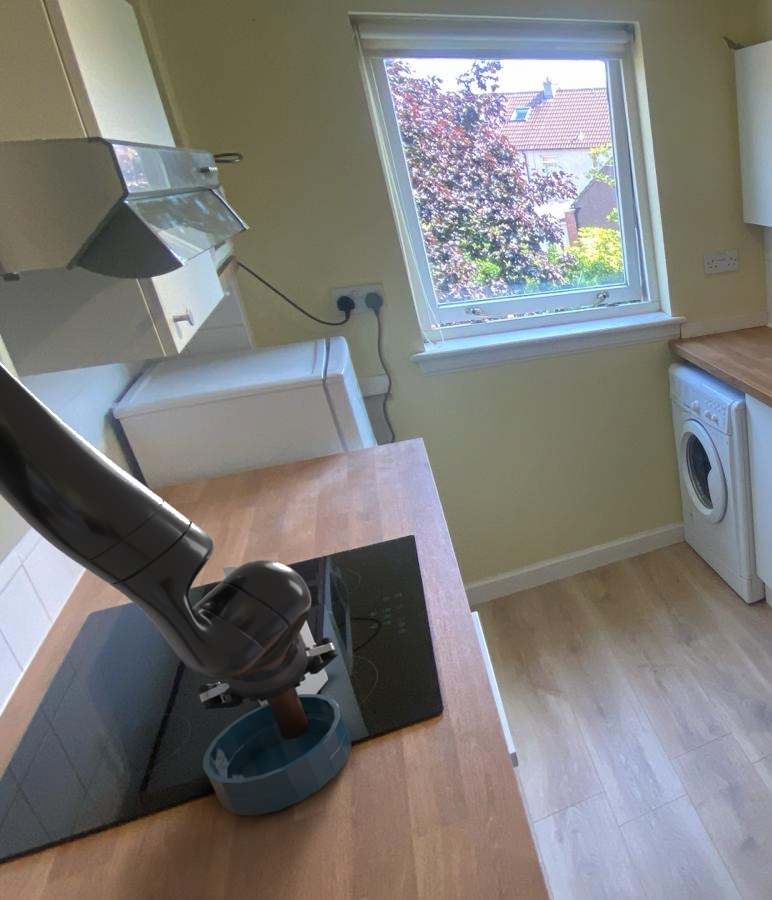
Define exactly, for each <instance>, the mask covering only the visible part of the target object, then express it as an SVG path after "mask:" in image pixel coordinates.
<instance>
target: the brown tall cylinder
mask: <svg viewBox="0 0 772 900" xmlns="http://www.w3.org/2000/svg"><path fill="white" fill-rule="evenodd" d="M267 702H268V704H269V707H270V709H271V712H272V714H273V716H274V719H275V721H276V724H277V726H278V729H279V731H280V733H281V736H282V738H284V739H287V740H290V739H294V738H297V737H299V736H301V735H303V734H304V733H305V732H306V731H307V730H308V728H309V723H308V720H307V718H306V715H305V713H304V710H303V707H302V705H301V702H300V700H299V697H298V695H297V692H296V689H295V687H294V686H293V687H292V688H291V689H290V690H288V691H287V692H285V693H283V694H281V695H279V696H276V697H273V698H269V699H267Z"/></svg>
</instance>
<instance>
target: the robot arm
mask: <svg viewBox="0 0 772 900" xmlns="http://www.w3.org/2000/svg"><path fill="white" fill-rule="evenodd" d="M0 496H1V497H2V498H3V499H4V500H5V501H6V502H7V503H8V505H10V507H12V509H13V510H14V511H15V512H16V513H17V514H18V515H19V516H20V517H21V518H22V519H23V520H24V521H25V522H26V523H27V524H28V525H29V526H30V527H31V528H32V529H33V530H34V531H35V532H37V533H38V534H39V535H40V536H41V537H42V538H44V539H45V540H46V541H47V542H48V543H50V545H52V546H53V547H54V548H56V549H57V550H58V551H60V552H61V553H63V554H64V555H65V556H67V557H68V558H69V559H71V560H72V561H73V562H76V563H77V564H78V565H80V566H81V567H83V568H84V569H86V570H87V571H89V572H90V573H92V574H93V575H94V576H96V577H98V578H99V579H101V581H103V582H105V583H106V584H109V586H111V587H113V588H114V589H115V590H117V591H118V592H120V593H121V594H122V595H124V596H125V597H126V598H127V599H129V600H130V601H131V602H132V603H133V604H134V605H135V606H137V607H138V608H139V610H141V611H142V612H143V613H144V614H145V616H146V617H147V618H148V620H150V621H151V622H152V624H153V625H154V626H155V628H156V629H157V630H158V631H159V633H160V634H161V635H162V637H163V638H164V639H165V641H166V642H167V644H168V645H169V646H170V648H171V649H172V650H173V652H174V653H175V655H176V656H177V657H178V658H179V660H181V661H182V663H183V664H184V665H185V666H186V667H188V668H189V669H190V670H191V671H193V672H194V673H196V674H198V675H199V676H200V675H201V676H202V677H206V678H209V679H213V680H222V683H221V682H220V681H218V682H215V683H208V684H203V685H201V686H199V687H198V688H196V690H197V692H198V697H199V699H200V701H201V704H202V706H203V709H204V710H214V709H215V710H216V709H227V708H228V709H229V708H234V707H235V708H237V707H238V706H241V705H242V704H243V703H244V700H245V699H248V700H249V701H250V702H256V701H259V700H260V702H263V701H265V700H267V699H269V698H273V697H276V696H279V695H281V694H283V693H285V692H287V691H288V690H290V689H291V688H292V687H293V686H294V687H295V688H296V687H298V686H301V685H300V682H302V681H304V680H305V679H306V678H305V674H307V673H309V672H310V674H317V673H319V671H321V670H322V669H323V668H324V669H325V668H326V667H327V666H328V665H329V664H330V663H331V662H332V661H334V660H335V659H336V658H337V657H338V656H339V654H338V652H337V649H336V646H335V644H334V641H333V639H332V636H328V637H327V636H325V637H323V638H322V639H321V640H319V641H318V642H317V643H315V644H314V645H313V648H312V649H310V647H308V646H306V644H305V642H304V641H303V638H302V636H301V634H300V631H301V629H302V627H303V625H304V623H305V621H307V619H308V617H309V615H310V612H311V610H312V609H311V608H312V595H311V591H310V589H309V586H308V585H307V583H306V581H305V580H304V579H303V577H302V576H301V575H300V574H299V573H298V572H297V571H295V570H294V569H293V568H291V567H289V566H288V565H286V564H284V563H281V562H279V561H273V560H269V559H259V560H253V561H248V562H246V563H243V564H241V565H239V566H240V567H238V568H237V569H235V570H234V571H233V572H231V573H230V574H229V575H228V576H227V577H226V576H225V577H226V578H225V577H224V578H223V579H222V580H221V581H220V582H219V583H218V584H217V585H216V586H215V587H214V588H213V589H212V590H210V591H209V592H208V593H207V594H206V595H205V596H203V598H201V599H200V601H198V602H197V603H196V604H195V605H194V606H193V605H192V601H191V597H190V591H191V588H192V585H193V584H194V582H195V580H196V578H197V577H198V575H199V574H200V573H201V571H202V570H203V569H204V568H205V565H206V564H207V562H209V560H210V559H211V556H212V555H213V553H214V550H215V543H214V540H213V539H212V537H211V536H210V535H209V534H208V533H207V531H204V530H203V528H201V527H200V526H199V525H197V524H196V523H194V522H193V521H192V520H190V519H189V518H188V517H187V516H185V515H184V514H183V513H181V512H180V511H178V509H176V508H175V507H174V506H172V505H171V504H169V503H168V502H167V501H165V500H164V499H163V498H162V497H161V496H159V494H156V492H154V491H152V490H151V489H150V488H149V487H147V486H146V485H145V484H144V483H142V482H141V481H140V480H138V479H137V478H135V477H134V476H133V475H131V474H130V473H129V472H127V471H126V469H124V468H122V467H121V466H120V465H118V464H117V463H116V462H115V461H113V460H112V459H110V458H109V457H108V456H107V455H105V454H104V453H103V452H101V451H100V450H99V449H98V448H97V447H95V446H94V445H92V444H91V442H89V441H88V440H87V439H85V438H84V437H83V436H82V435H80V434H79V433H78V432H77V431H76V430H74V429H73V428H72V427H71V426H70V425H69V424H67V423H66V422H65V421H64V420H63V419H61V418H60V417H59V416H58V415H57V414H56V413H54V412H53V410H51V409H50V408H49V407H48V406H46V404H44V403H43V402H42V401H41V399H39V398H38V397H36V395H34V393H33V392H32V391H30V390H29V389H28V388H27V387H26V386H25V385H24V384H23V383H22V382H21V381H20V380H19V379H18V378H16V376H15V375H14V374H13V373H12V372H11V371H10V370H8V368H7V367H6V366H5V365H4V364H3V363H2V362H1V361H0ZM260 702H259V703H260Z"/></svg>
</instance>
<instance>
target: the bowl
mask: <svg viewBox="0 0 772 900" xmlns="http://www.w3.org/2000/svg"><path fill="white" fill-rule="evenodd" d="M298 697H299V700H300V702H301V705H302V707H303V710H304V713H305V715H306V718H307V720H308V723H309V728H308V730H307V731H306V732H305V733H304V734H303V735H301V736H299V737H297V738H294V739H290V740H287V739H284V738H282V736H281V733H280V731H279V729H278V726H277V724H276V721H275V719H274V716H273V714H272V712H271V709H270V707H269V704H268V703H267V704H264V705H262V706H261V705H260V706H258V707H256V708H255V709H252V710H251V711H248V712H246V713H244V714H243V715H241V716H240V717H239V718H237V719H236V720H234V721H233V722H231V723H230V724H229V725H227V726H226V727H225V728H224V729H223V730H222V731H221V732H219V733H218V735H217V736H216V737H215V738H214V739H212V741H211V743H210V744H209V746H208V748H207V750H206V751H205V753H204V755H203V763H202V769H203V771H204V773H205V776H206V778H207V779H208V781H209V783H210V785H211V787H212V790H213V792H214V794H215V795H216V797H217V799H218V801H219V803H220V804H221V806H222V807H223V809H224V810H226V811H228V812H230V813H231V814H235V815H238V816H259V815H263V814H264V815H265V814H268V813H269V814H270V813H273V812H278V811H281V810H282V809H285V808H287V807H290V806H293V805H295V804H297V803H299V802H301V801H303V800H305V799H306V798H308V797H310V796H311V795H313V794H314V793H316V792H318V791H319V790H320V789H321V788H323V787H324V786H325V785H326V784H328V783H329V782H330V781H331V780H332V779H333V778H335V776H336V775H337V774H338V773H339V771H340V770H341V769H342V767H343V766H344V765H345V764H346V762H347V761H348V759H349V756H350V753H351V751H352V738H351V734H350V732H349V729H348V727H347V724H346V721H345V718H344V716H343V713H342V710H341V708H340V706H339V704H338V703H337V702H336V701H335V700H334V699H333V698H332V697H329V696H326V695H323V694H320V693H317V694H300V695H298Z"/></svg>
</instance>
